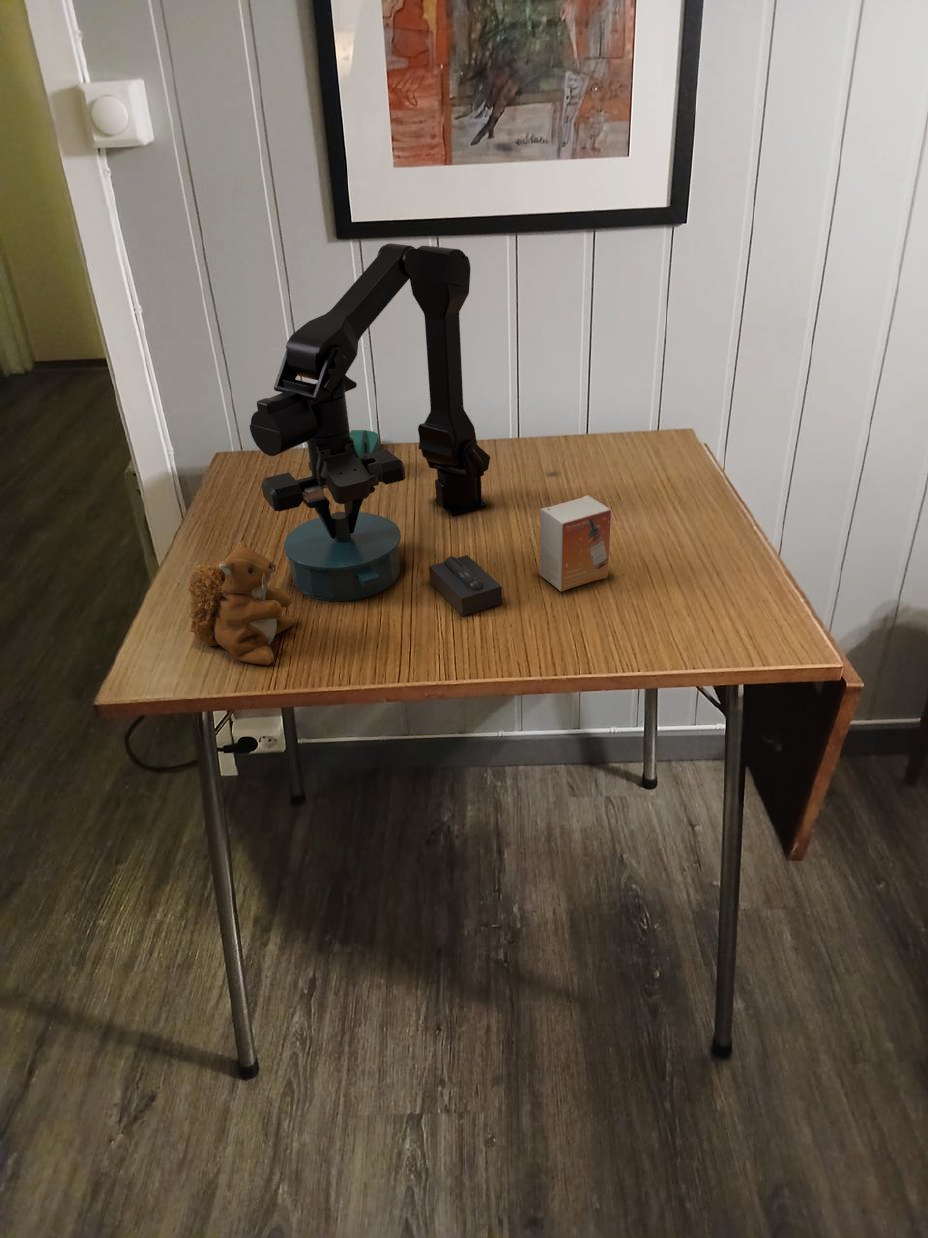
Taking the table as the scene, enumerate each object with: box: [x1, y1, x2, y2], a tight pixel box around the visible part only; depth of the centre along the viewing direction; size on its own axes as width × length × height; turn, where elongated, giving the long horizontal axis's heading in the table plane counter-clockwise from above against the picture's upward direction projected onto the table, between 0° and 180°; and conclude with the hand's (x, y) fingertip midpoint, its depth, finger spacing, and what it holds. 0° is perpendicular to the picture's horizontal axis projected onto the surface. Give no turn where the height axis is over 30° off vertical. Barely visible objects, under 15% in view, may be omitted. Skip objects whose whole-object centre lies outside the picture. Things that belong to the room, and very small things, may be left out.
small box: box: [539, 494, 612, 592], centre depth 127 cm, size 8×6×10 cm
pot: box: [287, 546, 401, 602], centre depth 132 cm, size 15×21×5 cm
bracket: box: [350, 429, 381, 458], centre depth 165 cm, size 18×7×8 cm, turn 174°
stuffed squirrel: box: [188, 541, 295, 666], centre depth 117 cm, size 10×14×13 cm
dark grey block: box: [428, 554, 503, 617], centre depth 126 cm, size 6×10×4 cm, turn 27°
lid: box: [283, 511, 402, 571], centre depth 130 cm, size 16×16×5 cm
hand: (341, 535), depth 130 cm, fingers closed on lid, 2 cm apart
